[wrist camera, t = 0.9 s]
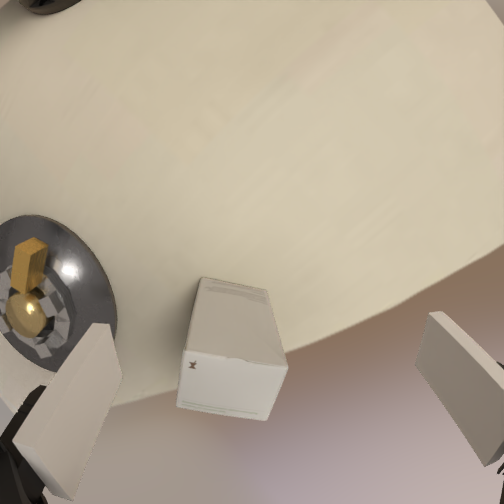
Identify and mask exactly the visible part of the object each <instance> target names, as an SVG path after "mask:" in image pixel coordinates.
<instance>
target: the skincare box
mask: <svg viewBox="0 0 504 504" xmlns="http://www.w3.org/2000/svg"><path fill="white" fill-rule="evenodd" d="M287 370H288V365H287V361H286V358H285V354H284V350H283V347H282V343H281V339H280V336H279V332H278V329H277V325H276V321H275V318H274V314H273V310H272V307H271V303H270V300H269V296H268V293H267V291H266V290H262V289H257V288H253V287H248V286H243V285H238V284H233V283H228V282H224V281H219V280H214V279H209V278H204V277H202V278H201V279H200V283H199V287H198V291H197V295H196V299H195V303H194V307H193V311H192V315H191V319H190V324H189V328H188V333H187V338H186V342H185V347H184V349H183V353H182V360H181V366H180V374H179V381H178V389H177V398H176V407H179V408H184V409H190V410H196V411H201V412H207V413H213V414H219V415H226V416H233V417H240V418H248V419H256V420H265V421H266V420H267V418H268V416H269V414H270V412H271V409H272V407H273V405H274V402H275V400H276V398H277V395H278V393H279V390H280V388H281V385H282V383H283V380H284V378H285V375H286V373H287Z"/></svg>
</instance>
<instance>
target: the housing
mask: <svg viewBox="0 0 504 504" xmlns="http://www.w3.org/2000/svg"><path fill="white" fill-rule="evenodd" d="M33 237H35V238H37V239H39V240H41V241H43V242H44V243H46V244H48V245H49V246H48V251H47V256H46V261H45V265H46V266H47V267H49V268H51V269H53V270H54V271H55V272H56V274H57V275H58V276H59V278H60V279H61V280H62V282H63V283H64V284H65V286H66V287H67V288H68V289H69V291H70V294H71V298H72V301H73V305H74V308H75V311H76V320H75V325H74V330H73V334H72V336H71V337H70V338H69V339H68V341H67V342H65V343H64V344H63V345H62V346H60V347H59V348H58V349H57V350H56V352H55V353H54V354H53V355H52V356H49V357H45V358H42V359H41V358H40V356H39V354H38V353H37V351H36V350H35V349H34V348H32V347H31V346H29V345H28V344H26V343H24V342H23V341H21V340H20V339H18V337H17V336H16V335H15V334H14V332H13V331H12V330H11V331H10V332H7V333H4V334H3V335H4V337H5V338H6V339H7V340H8V341H9V343H10V344H11V345H12V346H13V347H14V348H15V349H16V350H17V351H18V352H19V353H21V354H22V355H23V356H24V357H25V358H27V359H28V360H30V361H31V362H33V363H34V364H36V365H38V366H40V367H42V368H45V369H47V370H50V371H53V372H56V373H57V371H58V370H59V369H60V367H61V366H62V364H63V363H64V362H65V360H66V359H67V357H68V356H69V355H70V353H71V352H72V350H73V349H74V348H75V346H76V345H77V344H78V342H79V341H80V340H81V338H82V337H83V336H84V334H85V333H86V332H87V330H88V329H89V328H90V326H91V325H92V324H93V323H101V324H110V329H111V333H112V337H113V341H114V339H115V334H116V329H117V310H116V304H115V298H114V295H113V291H112V288H111V285H110V283H109V280H108V278H107V275H106V273H105V272H104V270H103V268H102V266H101V264H100V262H99V261H98V259H97V258H96V256H95V255H94V253H93V252H92V251H91V250H90V249H89V247H88V246H87V245H86V244H85V243H84V242H83V241H82V240H81V239H80V238H79V237H78V236H77V235H76V234H75V233H74V232H72V231H71V230H70V229H69V228H67V227H66V226H64V225H62V224H61V223H59V222H57V221H55V220H53V219H50V218H48V217H44V216H40V215H22V216H19V217H16V218H13V219H10V220H8V221H6V222H5V223H3V224H2V225H0V273H2V272H4V271H5V270H6V269H7V267H8V266H9V265H11V264H12V263H13V258H14V251H15V246H17V245H19V244H21V243H23V242H24V241H26V240H29V239H31V238H33ZM44 295H45V294H44V293H43V292H42V290H41V289H40V288H38V287H37V286H36V287H35V288H33V289H32V290H31V291H29V292H28V293H27V294H26V295H24V294H22V293H21V292H19V291H18V290H16V293H15V294H14V295H13V296H11V297H10V298H9V299H8V300H7V302H6V306H5V310H6V315H7V318H8V321H9V323H10V324H11V326H12V327H13V328H14V330H15V331H16V332H18V333H19V334H20V335H22V336H24V337H26V338H34V337H36V336H37V335H38V334H39V333H40V332H41V331H42V330H53V329H54V324H55V315H54V316H51V317H48V318H47V316H46V314H45V312H44V311H43V309H42V307H41V305H40V303H39V301H38V300H39V299H40V298H42V297H43V296H44ZM1 313H2V312H1V309H0V314H1ZM0 331H1V330H0Z"/></svg>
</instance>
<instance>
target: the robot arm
mask: <svg viewBox="0 0 504 504" xmlns="http://www.w3.org/2000/svg"><path fill="white" fill-rule="evenodd" d="M78 1H80V0H19V2H20V3H21V5H22V6H24V7H25V8H27V9H28V10H30V11H32V12H34V13H37V14H51V13H55V12H58V11H61V10H63V9H66V8H68V7H70V6H72V5H73V4H75V3H77V2H78ZM415 366H416V367H417V369H418V370H419V371H420V373H421V374H422V376H423V377H424V378H425V380H426V381H427V382H428V384H429V385H430V387H431V388H432V389H433V391H434V392H435V394H436V395H437V396H438V398H439V399H440V401H441V402H442V404H443V405H444V407H445V408H446V409H447V411H448V412H449V414H450V415H451V417H452V418H453V420H454V421H455V422H456V424H457V426H458V427H459V428H460V430H461V431H462V433H463V435H464V436H465V438H466V439H467V441H468V442H469V444H470V445H471V446H472V448H473V449H474V451H475V453H476V454H477V456H478V458H479V459H480V461H481V462H482V464H483V465H484V467H486V466H488V465H490V464H492V463H494V462H496V461H497V460H499V459H500V458H501V457H502V455H503V454H504V365H502V364H501V363H499V362H495V361H494V360H493V359H492V358H491V357H490V356H489V355H488V354H487V353H486V352H485V351H484V350H483V349H482V348H481V347H480V346H479V345H478V344H477V343H476V342H475V341H474V340H473V339H472V338H471V337H470V336H468V334H466V333H465V332H464V331H463V330H462V329H461V328H460V327H459V326H458V325H457V324H456V323H455V322H453V321H452V320H451V319H450V318H449V317H448V316H447V315H446V314H445V313H443V312H442V311H439V312H431V313H428V317H427V321H426V326H425V330H424V333H423V337H422V341H421V344H420V348H419V352H418V355H417V359H416V362H415ZM122 379H123V375H122V372H121V368H120V365H119V361H118V357H117V353H116V349H115V345H114V341H113V337H112V333H111V329H110V324H101V323H93V324H92V325H91V326H90V328H89V329H88V330H87V332H86V333H85V334H84V336H83V337H82V338H81V340H80V341H79V342H78V344H77V345H76V346H75V348H74V349H73V350H72V352H71V353H70V355H69V356H68V357H67V359H66V360H65V362H64V363H63V364H62V366H61V367H60V369H59V370H58V371H57V373H56V374H55V376H54V377H53V379H52V380H51V381H50V383H49V384H48V386H43V385H40V386H39V387H37V388H36V389H35V390H33V391H32V392H31V393H30V394H29V395H28V396H27V398H26V399H25V401H24V402H23V405H21V406H20V408H19V409H18V413H17V412H16V414H15V415H14V417H13V418H12V420H11V421H10V423H9V424H8V426H7V427H6V429H5V430H4V432H3V433H2V435H1V437H0V504H48V503H47V500H46V498H45V496H44V495H43V493H42V491H43V489H44V487H45V486H46V487H47V488H48V490H49V491H50V492H51V493H52V494H53V495H55V496H58V497H61V498H64V499H67V500H70V501H73V500H74V497H75V494H76V492H77V489H78V486H79V483H80V481H81V478H82V476H83V473H84V470H85V468H86V465H87V463H88V460H89V457H90V455H91V452H92V450H93V447H94V445H95V442H96V440H97V438H98V435H99V433H100V430H101V428H102V425H103V423H104V421H105V418H106V416H107V414H108V411H109V409H110V407H111V404H112V402H113V400H114V397H115V395H116V393H117V391H118V388H119V386H120V384H121V382H122ZM503 469H504V463H503V464H502V466H501V467H500V468H499V469H498V472H497V474H500V472H501V471H502V470H503ZM503 475H504V473H503ZM500 504H504V483H503V488H502V494H501V499H500Z"/></svg>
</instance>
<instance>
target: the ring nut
mask: <svg viewBox="0 0 504 504" xmlns="http://www.w3.org/2000/svg"><path fill="white" fill-rule="evenodd" d="M48 246H49V245H48V244H46V243H44V242H43V241H41V240H39V239H37V238H35V237H33V238H31V239H29V240H26V241H24V242H23V243H21V244H19V245H17V246H15V251H14V258H13V263H12V264H11V265H9V266H8V267H7V269H6V270H5V271H4V272H2V273H0V309H1V312H2V313H1V314H0V330H1V332H2V334H4V333H7V332H10V331H11V330H12V331H13V332H14V334H15V335H16V336H17V337H18V339H20V340H21V341H23V342H24V343H26V344H28V345H29V346H31V347H32V348H34V349H35V350H36V351H37V353H38V354H39V356H40V358H41V359H42V358H45V357H49V356H52V355H53V354H54V353H55V352H56V350H57V349H58V348H59V347H60V346H62V345H63V344H64V343H65V342H67V341H68V339H69V338H70V337H71V336H72V334H73V330H74V325H75V320H76V311H75V308H74V305H73V301H72V298H71V294H70V291H69V289H68V288H67V287H66V286H65V284H64V283H63V282H62V280H61V279H60V278H59V276H58V275H57V274H56V272H55V271H54V270H53V269H51V268H49V267H47V266H46V265H45V261H46V256H47V251H48ZM36 286H37V287H38V288H40V289H41V290H42V292H43V293H44V294H45V295H44V296H43V297H42V298H40V299H39V300H38V301H39V303H40V305H41V307H42V309H43V311H44V312H45V314H46V316H47V318H48V317H51V316H54V315H55V324H54V329H53V330H42V331H41V332H40V333H39V334H38V335H37V336H36V337H34V338H26V337H24V336H22V335H20V334H19V333H18V332H16V331H15V330H14V328H13V327H12V326H11V324H10V323H9V321H8V318H7V315H6V310H5V306H6V302H7V300H8V299H9V298H10V297H11V296H13V295H14V294H15V293H16V290H18V291H19V292H21V293H22V294H24V295H26V294H27V293H28V292H29V291H31V290H32V289H33V288H35V287H36Z"/></svg>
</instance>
